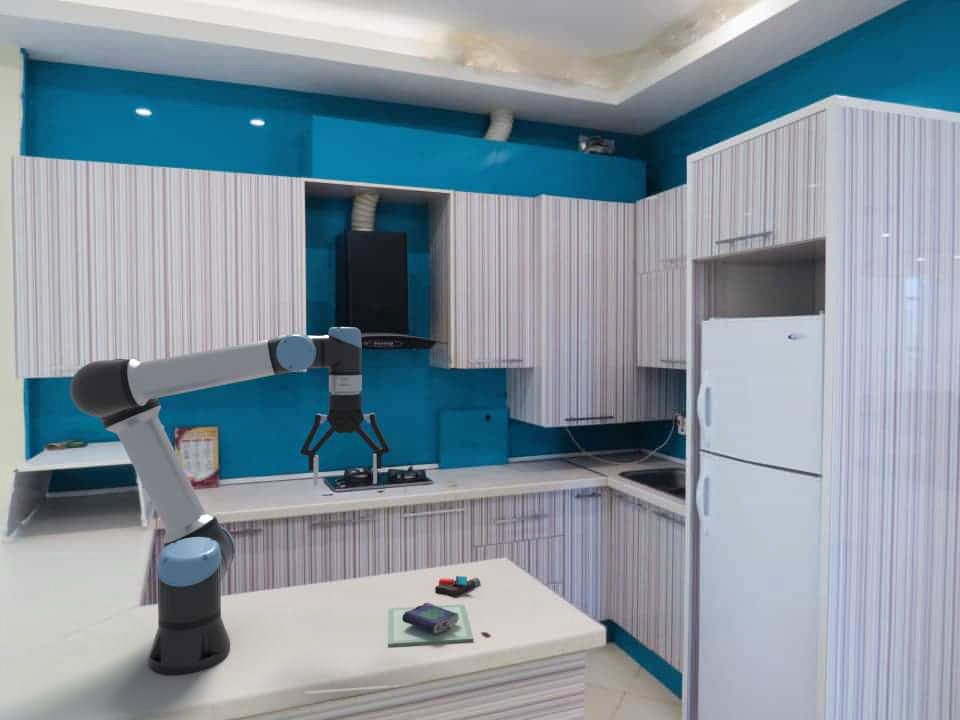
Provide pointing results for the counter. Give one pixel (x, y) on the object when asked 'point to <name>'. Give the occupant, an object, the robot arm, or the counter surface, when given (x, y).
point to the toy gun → (456, 586)
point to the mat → (414, 635)
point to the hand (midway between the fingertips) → (345, 483)
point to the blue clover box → (431, 618)
